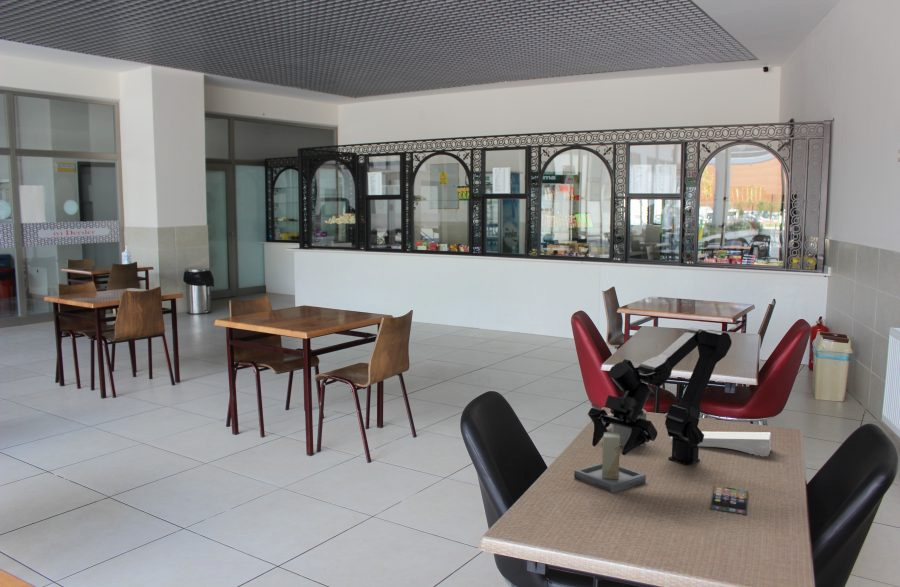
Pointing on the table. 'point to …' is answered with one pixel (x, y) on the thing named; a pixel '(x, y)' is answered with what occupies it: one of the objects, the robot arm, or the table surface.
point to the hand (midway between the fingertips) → (607, 449)
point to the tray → (613, 485)
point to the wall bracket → (739, 441)
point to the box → (611, 455)
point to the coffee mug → (624, 429)
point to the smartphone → (729, 500)
